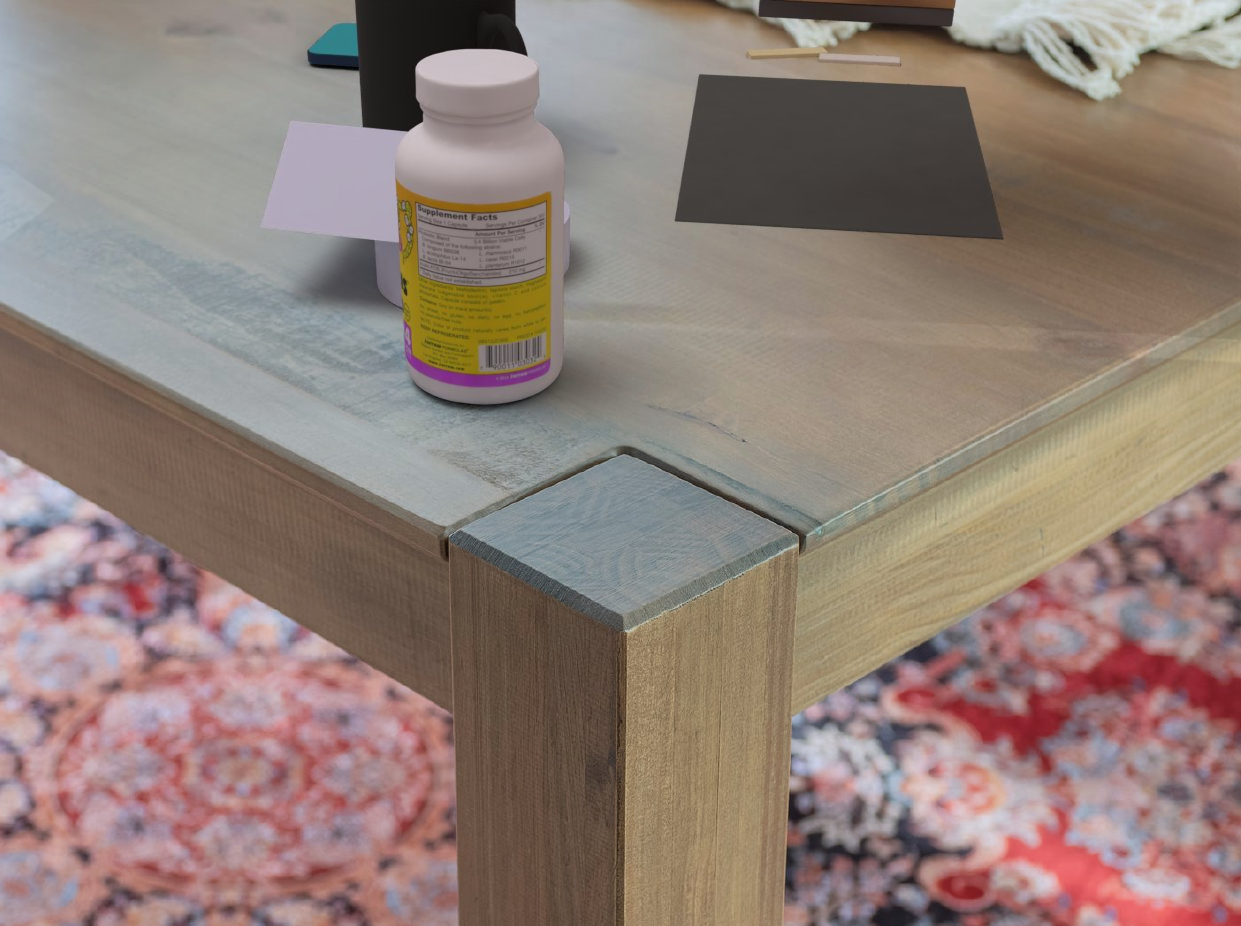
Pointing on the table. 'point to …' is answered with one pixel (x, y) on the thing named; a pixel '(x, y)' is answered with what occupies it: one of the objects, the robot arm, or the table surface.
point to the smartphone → (336, 47)
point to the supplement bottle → (481, 231)
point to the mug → (420, 48)
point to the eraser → (863, 11)
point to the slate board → (836, 158)
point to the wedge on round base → (347, 192)
